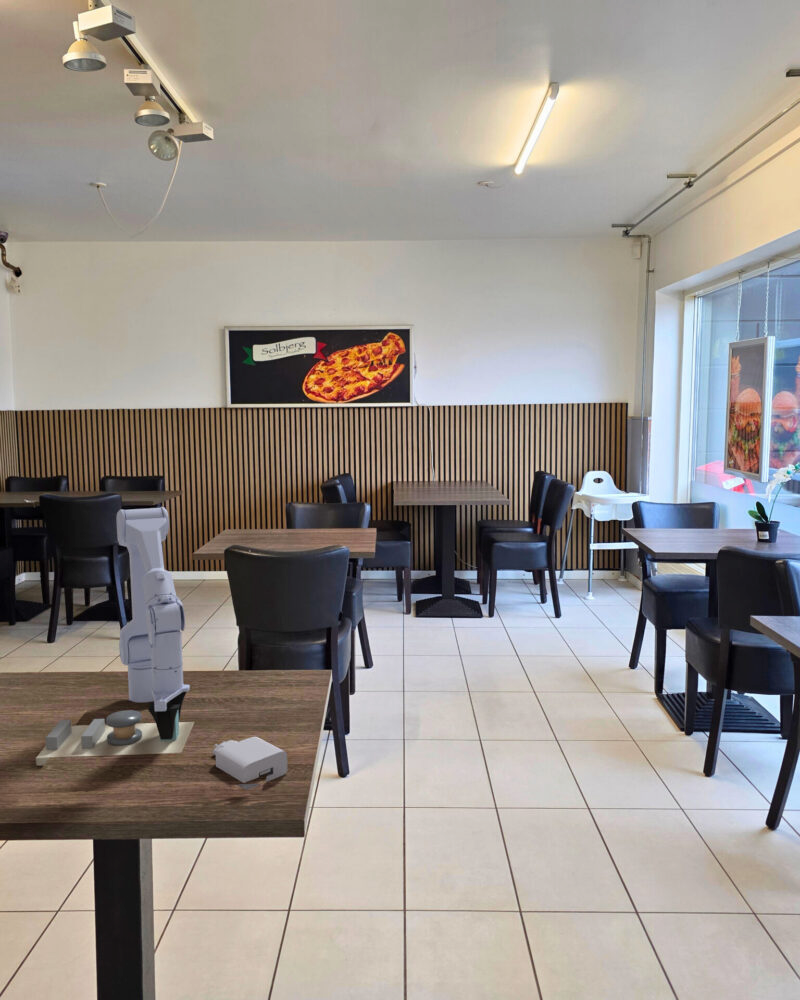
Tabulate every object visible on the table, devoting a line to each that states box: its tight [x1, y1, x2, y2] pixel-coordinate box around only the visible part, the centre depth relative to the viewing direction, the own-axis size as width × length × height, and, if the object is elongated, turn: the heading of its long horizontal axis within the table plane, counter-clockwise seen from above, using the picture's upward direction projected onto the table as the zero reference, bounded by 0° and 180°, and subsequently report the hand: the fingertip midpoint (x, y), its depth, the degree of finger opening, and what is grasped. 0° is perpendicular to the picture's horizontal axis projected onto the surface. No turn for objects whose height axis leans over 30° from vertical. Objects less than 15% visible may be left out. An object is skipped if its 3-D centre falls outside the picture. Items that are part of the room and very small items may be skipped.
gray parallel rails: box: [45, 718, 106, 750], centre depth 150 cm, size 8×8×2 cm
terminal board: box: [35, 721, 195, 766], centre depth 150 cm, size 26×14×2 cm, turn 95°
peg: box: [160, 711, 180, 741], centre depth 151 cm, size 3×3×5 cm
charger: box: [211, 736, 288, 791], centre depth 142 cm, size 5×9×15 cm
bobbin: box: [105, 709, 142, 746], centre depth 150 cm, size 6×6×4 cm
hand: (169, 732), depth 151 cm, fingers open, 5 cm apart
